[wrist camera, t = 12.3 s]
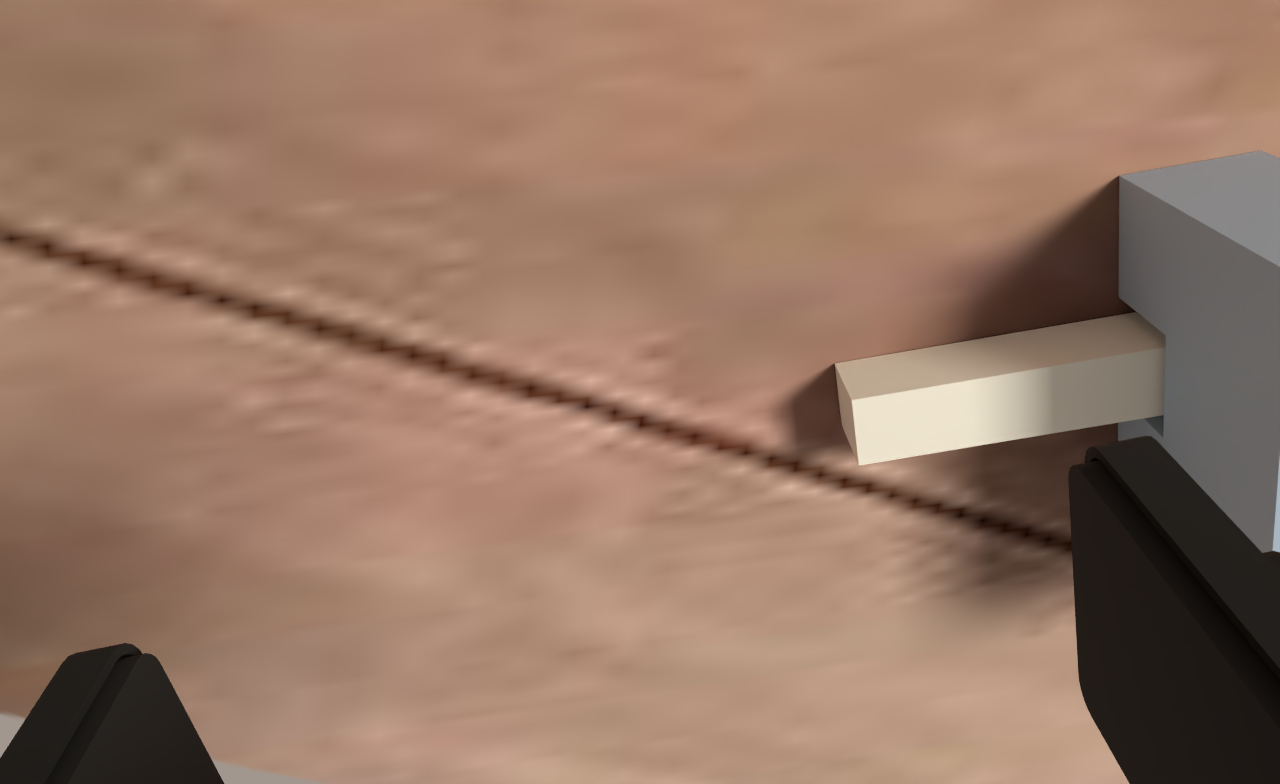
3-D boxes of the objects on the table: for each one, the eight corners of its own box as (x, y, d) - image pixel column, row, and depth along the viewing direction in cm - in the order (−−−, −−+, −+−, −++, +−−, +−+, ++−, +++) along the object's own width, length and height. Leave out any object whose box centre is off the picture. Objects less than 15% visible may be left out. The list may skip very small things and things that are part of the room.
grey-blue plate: (1119, 175, 36) (1293, 274, 26) (1261, 150, 35) (1485, 241, 26) (1117, 495, 40) (1263, 671, 31) (1242, 475, 40) (1426, 647, 31)
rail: (834, 363, 38) (851, 400, 35) (1553, 241, 37) (1628, 269, 34) (841, 425, 39) (858, 465, 36) (1541, 307, 38) (1614, 340, 35)
